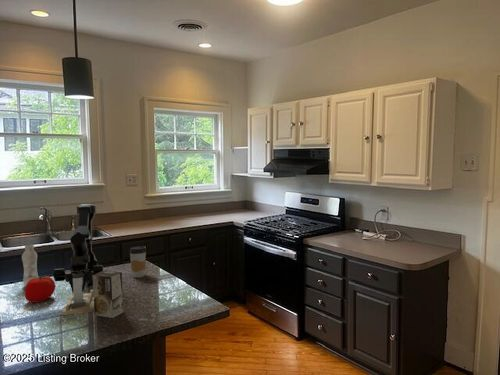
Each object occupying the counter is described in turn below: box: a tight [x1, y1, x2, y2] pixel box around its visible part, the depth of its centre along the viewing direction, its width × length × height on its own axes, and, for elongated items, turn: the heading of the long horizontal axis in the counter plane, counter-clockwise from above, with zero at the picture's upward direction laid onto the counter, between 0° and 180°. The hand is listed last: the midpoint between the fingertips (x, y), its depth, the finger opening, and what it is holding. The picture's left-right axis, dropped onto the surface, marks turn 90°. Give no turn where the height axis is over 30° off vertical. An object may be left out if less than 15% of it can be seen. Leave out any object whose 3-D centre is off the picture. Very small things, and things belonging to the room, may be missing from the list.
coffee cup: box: [129, 245, 147, 279], centre depth 190 cm, size 8×8×15 cm
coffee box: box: [92, 270, 124, 319], centre depth 141 cm, size 9×6×16 cm
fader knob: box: [71, 272, 86, 307], centre depth 146 cm, size 4×5×13 cm
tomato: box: [24, 275, 56, 303], centre depth 157 cm, size 11×13×10 cm
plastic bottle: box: [21, 243, 39, 287], centre depth 176 cm, size 6×7×20 cm
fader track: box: [61, 289, 94, 316], centre depth 152 cm, size 19×11×3 cm, turn 18°
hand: (77, 292), depth 145 cm, fingers closed on fader knob, 3 cm apart
